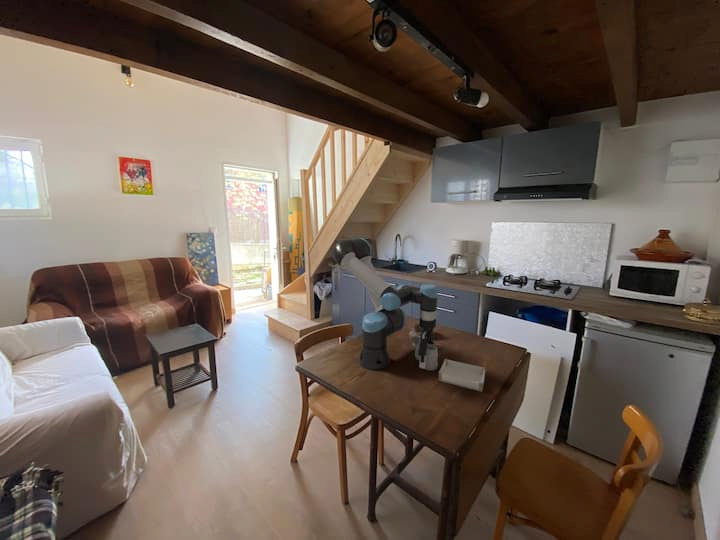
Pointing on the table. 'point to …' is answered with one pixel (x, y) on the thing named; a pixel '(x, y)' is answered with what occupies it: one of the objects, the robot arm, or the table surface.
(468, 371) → the crate
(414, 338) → the pottery
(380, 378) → the table surface
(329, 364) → the table surface
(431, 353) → the mug
